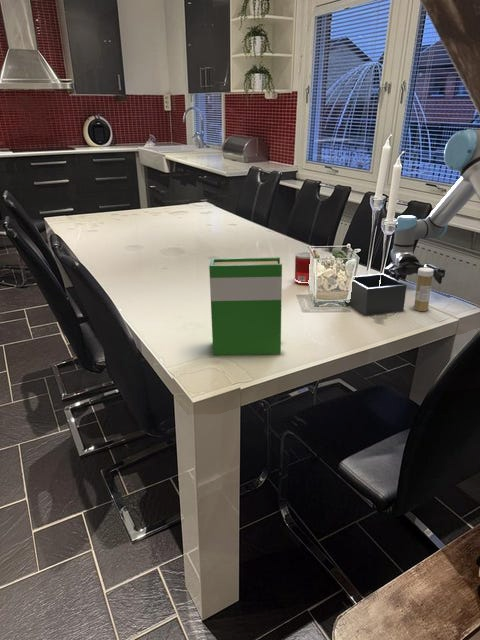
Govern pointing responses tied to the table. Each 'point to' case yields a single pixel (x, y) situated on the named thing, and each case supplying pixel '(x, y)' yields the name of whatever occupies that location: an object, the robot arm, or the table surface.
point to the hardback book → (246, 305)
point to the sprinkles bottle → (423, 289)
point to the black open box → (377, 294)
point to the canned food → (302, 267)
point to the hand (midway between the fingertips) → (419, 279)
